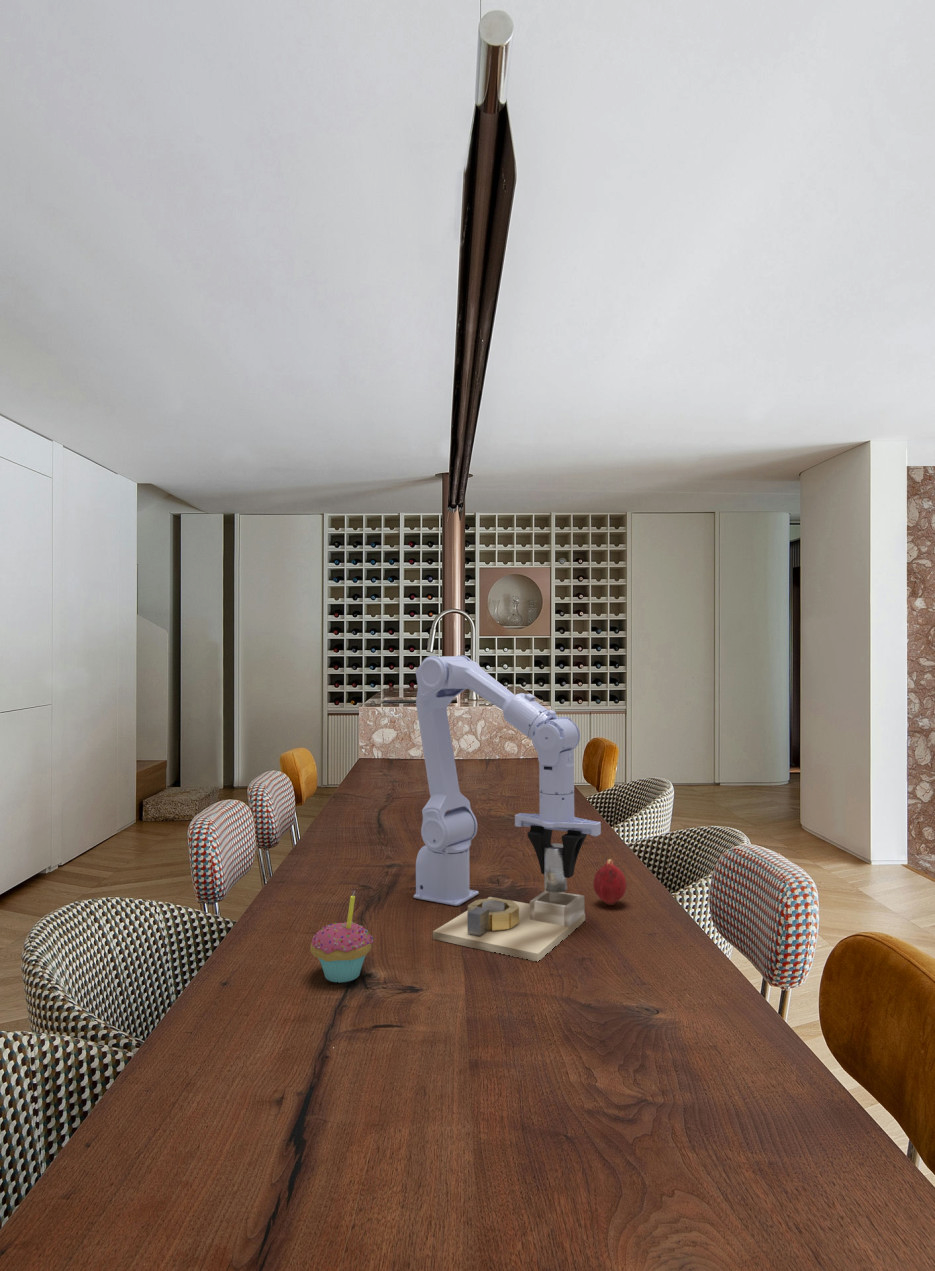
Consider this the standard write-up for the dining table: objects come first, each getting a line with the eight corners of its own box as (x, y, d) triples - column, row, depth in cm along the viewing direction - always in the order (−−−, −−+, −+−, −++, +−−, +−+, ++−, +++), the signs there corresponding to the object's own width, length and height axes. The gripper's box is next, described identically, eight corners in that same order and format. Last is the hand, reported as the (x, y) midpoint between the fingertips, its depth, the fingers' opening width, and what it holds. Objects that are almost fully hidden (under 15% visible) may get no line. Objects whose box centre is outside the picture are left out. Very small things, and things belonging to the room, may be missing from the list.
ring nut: (452, 930, 120) (451, 909, 120) (483, 910, 129) (483, 890, 129) (496, 939, 116) (496, 918, 116) (525, 917, 125) (525, 898, 125)
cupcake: (382, 967, 109) (382, 883, 110) (355, 993, 101) (354, 902, 102) (329, 960, 112) (329, 877, 112) (298, 984, 104) (298, 895, 104)
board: (432, 939, 120) (432, 912, 120) (489, 903, 136) (489, 879, 137) (538, 962, 111) (537, 932, 111) (585, 920, 128) (585, 895, 128)
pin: (540, 888, 126) (539, 846, 126) (554, 883, 128) (553, 841, 128) (556, 894, 123) (555, 850, 123) (571, 888, 126) (570, 846, 126)
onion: (626, 911, 132) (626, 865, 132) (592, 909, 133) (592, 863, 133) (626, 900, 138) (626, 856, 138) (594, 898, 139) (593, 854, 139)
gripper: (506, 791, 127) (507, 874, 127) (589, 800, 120) (590, 887, 119) (524, 785, 133) (525, 863, 133) (605, 792, 126) (605, 875, 125)
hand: (557, 874), depth 126 cm, fingers closed on pin, 4 cm apart
